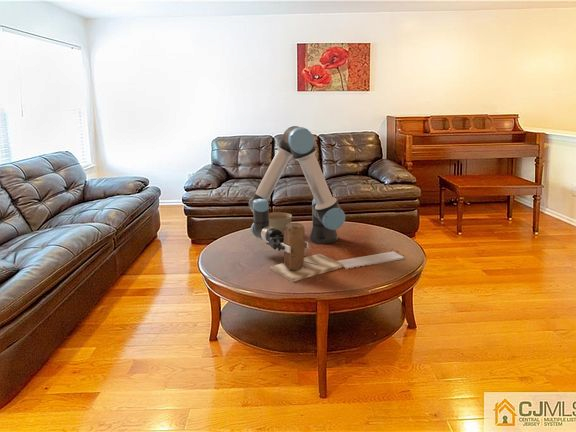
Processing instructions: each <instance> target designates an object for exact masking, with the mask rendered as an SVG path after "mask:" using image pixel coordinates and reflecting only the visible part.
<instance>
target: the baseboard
mask: <svg viewBox="0 0 576 432" xmlns="http://www.w3.org/2000/svg"><path fill="white" fill-rule="evenodd" d="M396 252H397V253H396ZM404 259H405V256H404V255H401V254H400V251H398V250H395V249H393V248H392V249H390V251H388V252H383V253H377V254H371V255H370V254H369V255H363V256H357V257H352V258H345V259H340V260H336V261H337V262H339V263H342V264H343V267H342V268H344V269H345V270H349V268H350V269H354V267H356V268H361V267H360V266H362V267H365V265H367V266H372V264H373V265H376V264H377V265H378V264H383V263H390V262H394V261H396V262H397V261H399V260H404Z"/></svg>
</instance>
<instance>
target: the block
mask: <svg viewBox="0 0 576 432" xmlns="http://www.w3.org/2000/svg"><path fill="white" fill-rule="evenodd" d="M305 235H306V233H305V226H304V225H303V224H302V223H300V222H291V223H288V224H287V225H286V227H285V230H284V243H283V244H286V245H288V246H290V247H291V253H288V252H286V251H284V250H283V263H284V264H285V266H286V267H287V268H288V269H291V270H299V269H300V268H302V267H303V263H304V257H305V249H306V248H305V241H306V240H305V238H306V237H305Z"/></svg>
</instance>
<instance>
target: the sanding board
mask: <svg viewBox="0 0 576 432" xmlns="http://www.w3.org/2000/svg"><path fill="white" fill-rule="evenodd" d="M337 261H338V260H335V259H332V258H330V257H328V256H325V255H324V254H321V253H317V254H313V255H309V256H304V263H303V267H302V268H300V269H299V270H291V269H288V268H287V267H286V266H285V264H284V262H281V263H279V264H275V265H270V266H269V270H271V271H273V272H274V273H275V274H277V275H279V276H281V277H283V278H284V279H286V280H288V281H290V282H291V283H293V282H297V281H300V280H304V279H307V278H311V277H314V276H318V275H321V274H324V273H327V272H331V271H332V272H333V271H335V270H338V268H339V269H341V268H343V264H342V263H339V262H337ZM317 274H318V275H317Z"/></svg>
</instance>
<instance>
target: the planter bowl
mask: <svg viewBox="0 0 576 432" xmlns="http://www.w3.org/2000/svg"><path fill="white" fill-rule="evenodd" d="M292 218H293V215H292V214H291V213H287V212H269V226H271V227H273V228H275V229H278V230H280V231H281V232H282V234H284V230H285V227H286V225H287V224H288V223H292Z"/></svg>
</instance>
